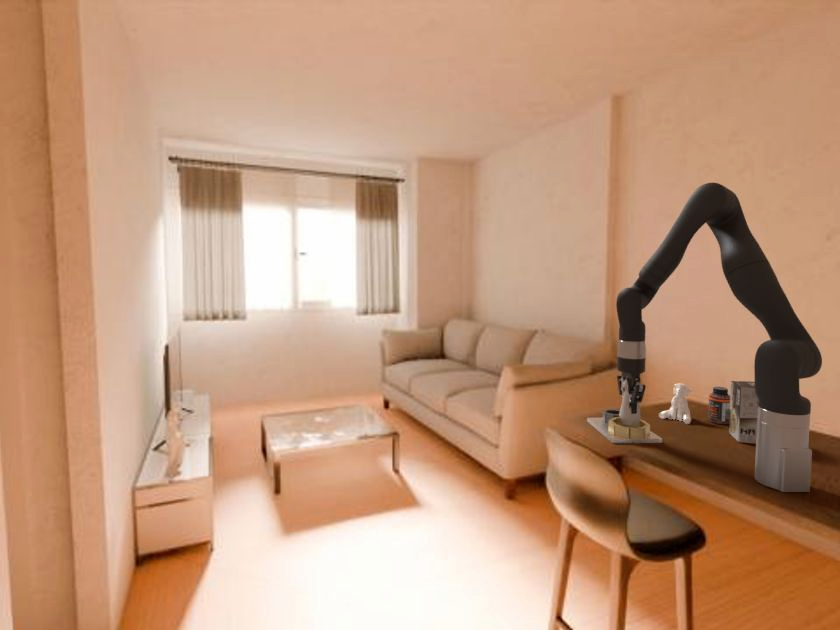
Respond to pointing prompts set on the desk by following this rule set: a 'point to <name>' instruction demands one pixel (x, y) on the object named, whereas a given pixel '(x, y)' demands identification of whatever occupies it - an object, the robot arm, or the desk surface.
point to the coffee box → (743, 411)
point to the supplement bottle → (719, 406)
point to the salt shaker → (628, 411)
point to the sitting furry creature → (678, 405)
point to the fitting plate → (620, 439)
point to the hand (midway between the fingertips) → (629, 412)
